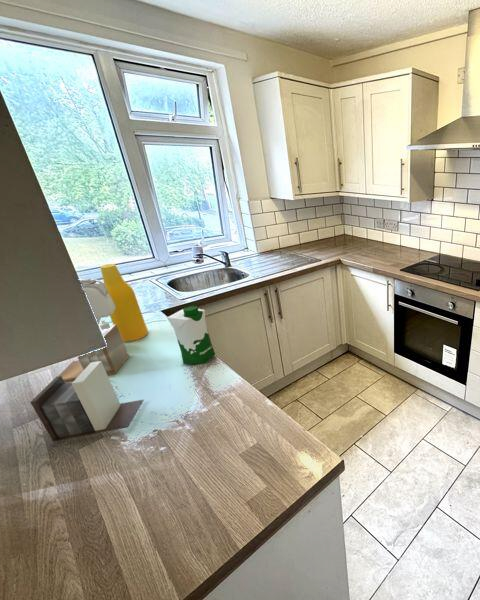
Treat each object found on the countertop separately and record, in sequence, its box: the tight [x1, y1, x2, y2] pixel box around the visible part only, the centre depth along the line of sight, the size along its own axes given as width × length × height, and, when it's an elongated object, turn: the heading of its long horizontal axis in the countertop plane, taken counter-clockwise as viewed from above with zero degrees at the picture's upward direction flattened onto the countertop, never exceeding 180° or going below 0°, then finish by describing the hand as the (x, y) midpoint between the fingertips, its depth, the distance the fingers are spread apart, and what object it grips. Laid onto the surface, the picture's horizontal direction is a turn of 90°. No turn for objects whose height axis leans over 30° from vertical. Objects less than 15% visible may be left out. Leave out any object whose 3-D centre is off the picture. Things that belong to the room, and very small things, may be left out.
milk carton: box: [166, 305, 216, 366], centre depth 110 cm, size 9×9×20 cm
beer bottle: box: [99, 263, 149, 343], centre depth 122 cm, size 9×9×29 cm
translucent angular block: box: [58, 324, 131, 383], centre depth 106 cm, size 16×11×13 cm
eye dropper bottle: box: [99, 319, 111, 330], centre depth 117 cm, size 4×6×12 cm
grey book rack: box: [30, 375, 145, 443], centre depth 85 cm, size 16×11×13 cm
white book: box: [71, 361, 121, 431], centre depth 85 cm, size 2×9×15 cm, turn 18°
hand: (71, 337), depth 77 cm, fingers open, 8 cm apart
